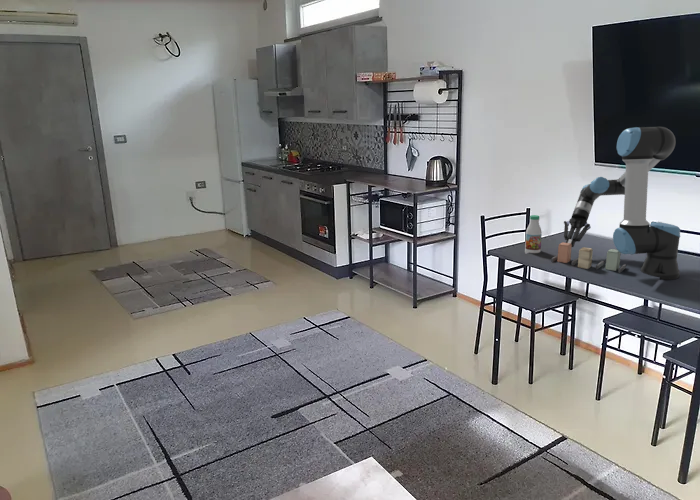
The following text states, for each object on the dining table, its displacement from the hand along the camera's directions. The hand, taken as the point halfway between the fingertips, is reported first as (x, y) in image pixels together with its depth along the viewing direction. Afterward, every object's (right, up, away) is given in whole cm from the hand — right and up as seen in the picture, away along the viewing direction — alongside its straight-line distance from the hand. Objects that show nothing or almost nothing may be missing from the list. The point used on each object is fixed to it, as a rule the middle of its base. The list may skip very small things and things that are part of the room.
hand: (567, 251), depth 264 cm
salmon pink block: (-2, -5, -2) cm, 5 cm away
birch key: (+3, -7, -12) cm, 14 cm away
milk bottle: (-11, -1, +17) cm, 21 cm away
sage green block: (+14, -8, -16) cm, 23 cm away
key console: (+6, -7, -9) cm, 13 cm away
